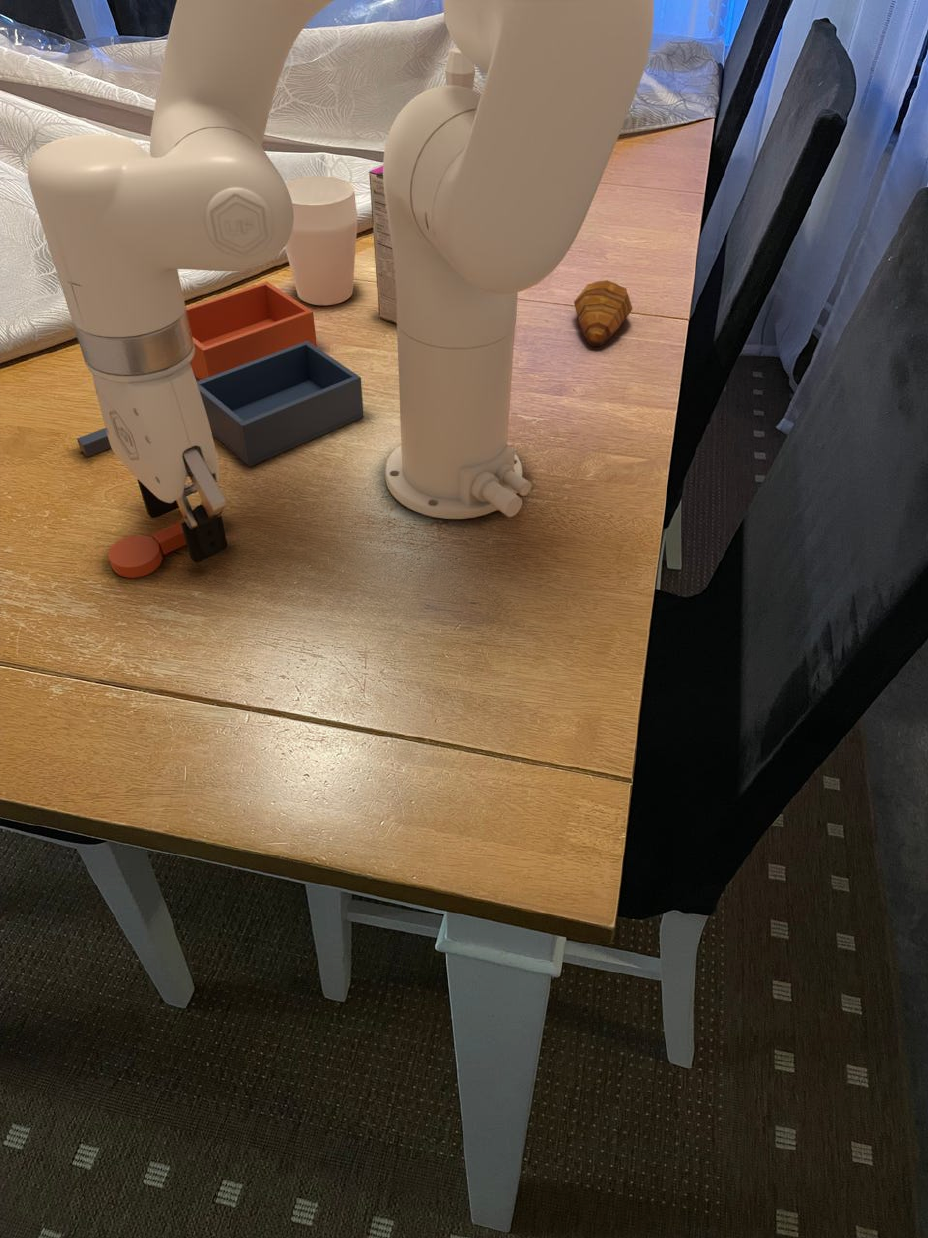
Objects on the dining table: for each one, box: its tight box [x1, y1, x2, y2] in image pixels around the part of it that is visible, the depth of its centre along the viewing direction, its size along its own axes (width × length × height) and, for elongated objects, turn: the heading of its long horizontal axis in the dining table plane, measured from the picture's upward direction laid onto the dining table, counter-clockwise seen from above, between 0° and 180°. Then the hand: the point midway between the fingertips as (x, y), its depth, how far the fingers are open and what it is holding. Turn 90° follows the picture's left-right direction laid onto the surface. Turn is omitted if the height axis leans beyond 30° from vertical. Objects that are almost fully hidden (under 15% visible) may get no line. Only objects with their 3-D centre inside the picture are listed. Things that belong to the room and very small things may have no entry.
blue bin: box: [196, 341, 364, 468], centre depth 86 cm, size 9×13×4 cm
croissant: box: [573, 279, 633, 347], centre depth 101 cm, size 14×7×5 cm, turn 168°
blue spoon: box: [76, 427, 112, 458], centre depth 84 cm, size 10×4×1 cm, turn 131°
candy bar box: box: [368, 165, 397, 325], centre depth 99 cm, size 11×5×16 cm, turn 143°
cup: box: [284, 175, 358, 306], centre depth 102 cm, size 9×9×12 cm
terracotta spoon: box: [108, 519, 187, 579], centre depth 73 cm, size 10×4×1 cm, turn 131°
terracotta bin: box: [186, 281, 318, 381], centre depth 95 cm, size 9×13×4 cm
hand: (187, 530), depth 74 cm, fingers open, 6 cm apart
